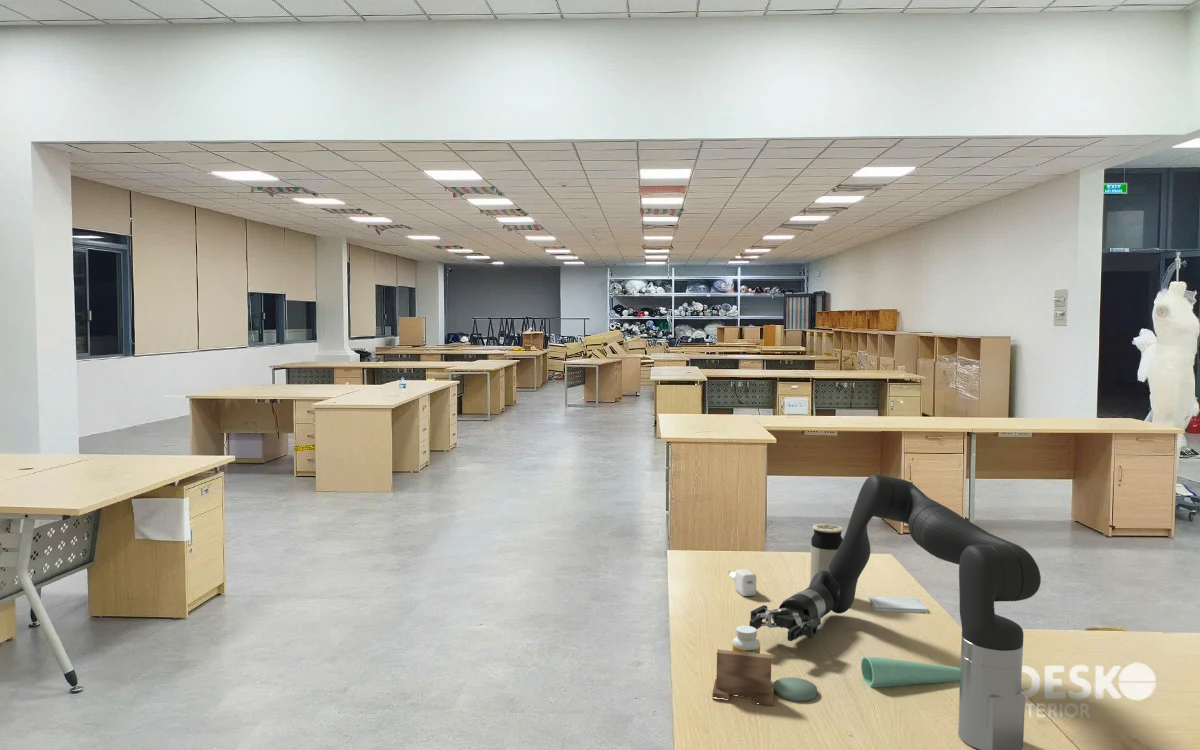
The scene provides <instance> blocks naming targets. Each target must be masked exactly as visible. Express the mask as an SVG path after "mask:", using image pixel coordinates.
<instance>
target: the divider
mask: <svg viewBox="0 0 1200 750" xmlns="http://www.w3.org/2000/svg"><path fill="white" fill-rule="evenodd" d="M771 681H772V654H767V653H766V654H765V653H760V654H758V653H748V652H738V651H733V650H726V649H717V651H716V678H715V680H714V684H713V688H712V696H711V698H712V697H717V698H724V699H729V700H730V696H729V695H738V696H743V697H742V698H745V697H751V698H750V699H754V698H756V699H755V701H756V702H755V703H759V704H764V705H763V706H767V705H768V706H769V707H774V693H775V692H774V684H773V685H772V682H771Z"/></svg>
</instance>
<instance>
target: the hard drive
mask: <svg viewBox="0 0 1200 750" xmlns="http://www.w3.org/2000/svg"><path fill="white" fill-rule="evenodd" d="M867 600H868V601H869V603H870V605H871V606H872V608H873V610H874V611H879V612H880V611H881V612H895V611H900V612H901V613H916V612H928V613H929V611H928V607H927V606H926V605H925V604H924V603H923V602H922V600H921V599H920V598H916V597H914V598H913V597H912V598H911V597H892V596H872V595H871V596H867ZM900 612H899V613H900Z"/></svg>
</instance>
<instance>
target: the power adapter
mask: <svg viewBox="0 0 1200 750" xmlns="http://www.w3.org/2000/svg"><path fill="white" fill-rule="evenodd" d="M727 572H728V574H729V577H730V579H732V580H733V581H734V582H735V583H734V588H735V591H736V592H737V593H739V594H740V595H741V596H742V597H752V596H753V597H754V596H756V594H757V575H756V574H755V573H754V571H752V570H751V569H749V568H739V569H736V570H735V571H731V570H728V571H727Z"/></svg>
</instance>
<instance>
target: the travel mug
mask: <svg viewBox="0 0 1200 750" xmlns="http://www.w3.org/2000/svg"><path fill="white" fill-rule="evenodd" d="M812 529H813V535H812V537H811V541H810V544H811V545H810V576H809V577H810V579H809V582H810V583H811V581H812V579H813V577H814V576H815V575H816V574H817V573H818V572H820V571H829V572H830V570H829V565H830V562H831V560H832V559H833V557H834V555H835V553H836V551H837V550H838V548H839V546H840V544H841V542H842V540H843V537H842V532H843V527H842V526H840V525H837V524H833V523H832V524H830V523H829V524H828V523H818V524H817V523H816V524H814V525H813V526H812ZM830 573H831V572H830ZM810 583H809V584H810Z"/></svg>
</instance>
